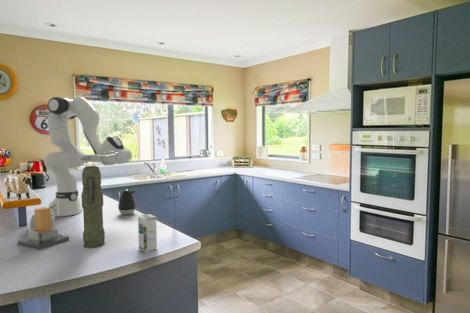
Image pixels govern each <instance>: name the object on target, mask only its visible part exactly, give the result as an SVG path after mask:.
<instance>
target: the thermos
mask: <svg viewBox="0 0 470 313" xmlns="http://www.w3.org/2000/svg"><path fill="white" fill-rule="evenodd" d="M101 176H102V174H101V170H100V167H99V166H98V165H97V166H96V165H89V166H88V165H87V166H84V167H83V169H82V173H81V181H82V182H81V183H82V191H81V194H80V196H81V198H80V199H81V209H82V214H83V215H82V216H83V232H82V241H83V247H84V248H87V249H94V248H100V247H102V246H104V245H105V244H106V243H105V238H106V231H105V229H104V215H103V212H104V211H103V207H104V192H103V190H102V177H101Z"/></svg>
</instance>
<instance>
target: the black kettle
mask: <svg viewBox="0 0 470 313" xmlns="http://www.w3.org/2000/svg"><path fill="white" fill-rule="evenodd" d="M134 193H136V190H132V191H131V190H130V189H124V190H122V191H121V193H120V197H119V200H118V205H117V206H118V211H119V213H120V214H121V215H122V216H130V215H132V214H134V212H135V211H136V208H137V206H136V205H137V204H136V200H135V197H134V195H133V194H134ZM129 214H130V215H129Z"/></svg>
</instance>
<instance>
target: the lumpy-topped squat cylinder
mask: <svg viewBox="0 0 470 313" xmlns="http://www.w3.org/2000/svg"><path fill="white" fill-rule="evenodd" d="M50 214H51V229H55V228H56V217H55V215H54V214H53V213H50ZM31 229H35V214H32V216H31V218H30V230H31Z"/></svg>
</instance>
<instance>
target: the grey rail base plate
mask: <svg viewBox="0 0 470 313" xmlns="http://www.w3.org/2000/svg"><path fill="white" fill-rule="evenodd" d="M58 230H59V228H58V227H55V229H51V230H47V231H44V232H36V229H31V228H30V229H27V230H26V238H22V239H20V240H17V245H19V246H24V247H28V248H32V249H36V250H43V249H45V248H49V247H51V246H55V245H58V244H61V243H64V242H67V241H70V236H66V235H62V234H59V231H58Z"/></svg>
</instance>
